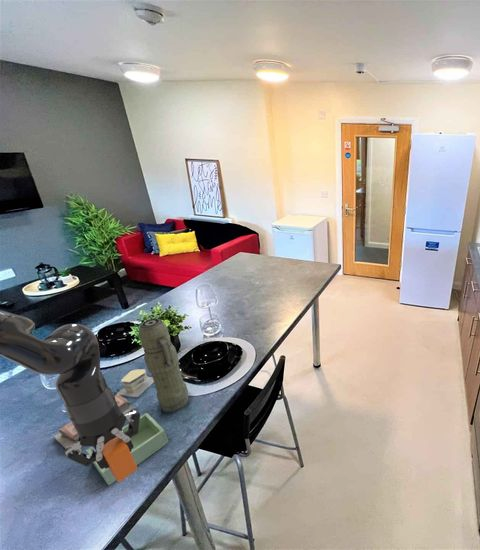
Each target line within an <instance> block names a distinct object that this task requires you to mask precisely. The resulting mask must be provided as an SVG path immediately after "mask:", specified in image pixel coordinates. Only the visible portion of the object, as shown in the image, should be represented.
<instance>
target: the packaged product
mask: <svg viewBox="0 0 480 550" xmlns="http://www.w3.org/2000/svg"><path fill="white" fill-rule="evenodd" d="M114 396H115V400H116V402H117V405H118V407H119V409H120V411H121V413H123V414H127V413H130V411H131V410H132V409H135V407H134V406H133V405H131V403H130V401H129V400H128V399H127V398H125V397H123V395H119V394H117V393H116V394H114ZM53 438H54V439H55V441H57V442H58V443H59V444H60V445H61V446H62V447H63V448H64V450H65V449H66V448H68V447H73V446H74V445H75V444H76V443H77V442H78V439H79V434H78V433H77V431H76V429H75V427H74V425H73V423H72V421H69V422H68V423H66V424H65V425H63V426H62V427H60V428H59V429H58V433H56V434H54V435H53Z"/></svg>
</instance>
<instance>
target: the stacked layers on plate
mask: <svg viewBox="0 0 480 550" xmlns="http://www.w3.org/2000/svg"><path fill="white" fill-rule="evenodd" d="M120 382H121V385H123V387H122V388H121V389H120V390H119V391H117V392H116V395H117V394H119V395H120V396H125V397H133V398H138V397H140V396H141V395H142V394H143V393H144V392H145V391H146V390H147V389H148V388H149V387H150V386H151V385H152V384H154V380H153V377H152V376H148V375H147V371H146V369H145V368H143V369H142V368H140V369H132V370H131V371H129V372H128V373H127V374H126V375H125V376H124V377H123V378H121V380H120Z"/></svg>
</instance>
